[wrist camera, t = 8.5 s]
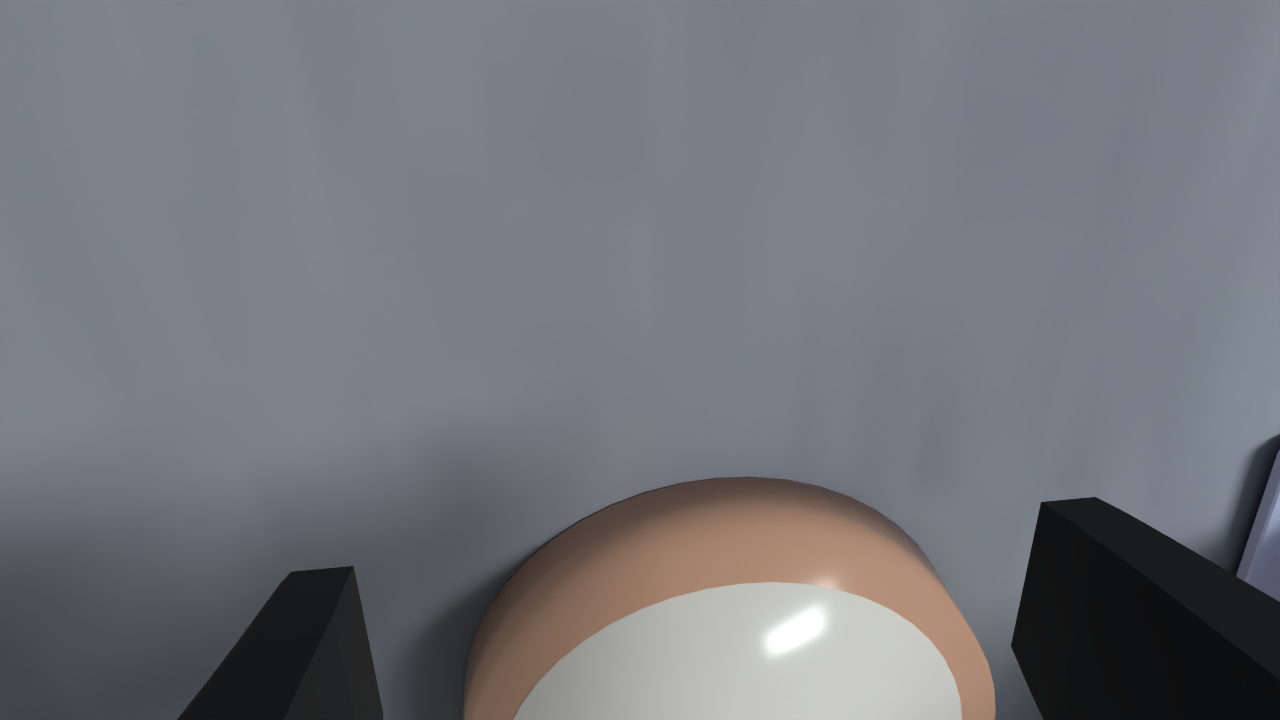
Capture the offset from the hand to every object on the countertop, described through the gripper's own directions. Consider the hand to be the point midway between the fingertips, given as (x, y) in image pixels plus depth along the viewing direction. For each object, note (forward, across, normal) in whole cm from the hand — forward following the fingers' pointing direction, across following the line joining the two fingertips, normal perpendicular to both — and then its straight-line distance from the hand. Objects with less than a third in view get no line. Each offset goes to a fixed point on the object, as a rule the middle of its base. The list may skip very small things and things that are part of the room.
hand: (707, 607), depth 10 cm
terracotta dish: (+9, -2, +11) cm, 15 cm away
